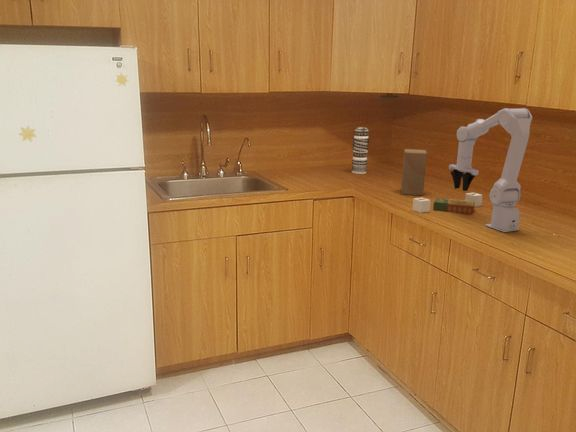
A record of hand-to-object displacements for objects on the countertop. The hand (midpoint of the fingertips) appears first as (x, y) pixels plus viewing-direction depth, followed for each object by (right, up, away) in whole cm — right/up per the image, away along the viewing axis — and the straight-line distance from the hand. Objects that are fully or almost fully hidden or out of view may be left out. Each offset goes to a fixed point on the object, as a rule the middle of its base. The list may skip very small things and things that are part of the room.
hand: (461, 189), depth 222 cm
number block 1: (-16, -9, +2) cm, 18 cm away
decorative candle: (-31, +13, +81) cm, 88 cm away
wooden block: (-12, 0, +34) cm, 37 cm away
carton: (-2, -9, +5) cm, 10 cm away
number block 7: (+10, -6, +14) cm, 18 cm away
